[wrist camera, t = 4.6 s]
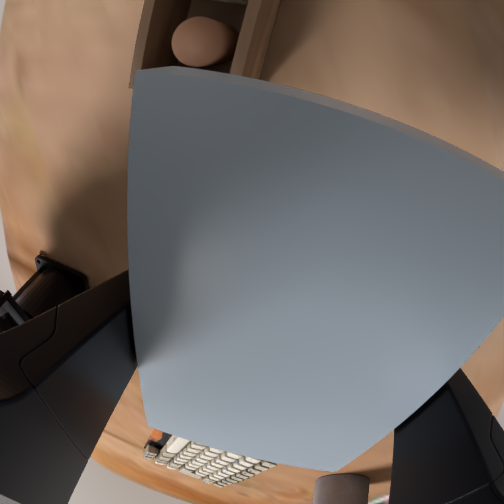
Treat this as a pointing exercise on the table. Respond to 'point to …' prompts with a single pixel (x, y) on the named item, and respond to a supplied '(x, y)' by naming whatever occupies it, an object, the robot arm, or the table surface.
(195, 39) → the box
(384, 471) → the table surface
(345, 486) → the pillar candle
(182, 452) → the mechanical keyboard
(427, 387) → the lid
